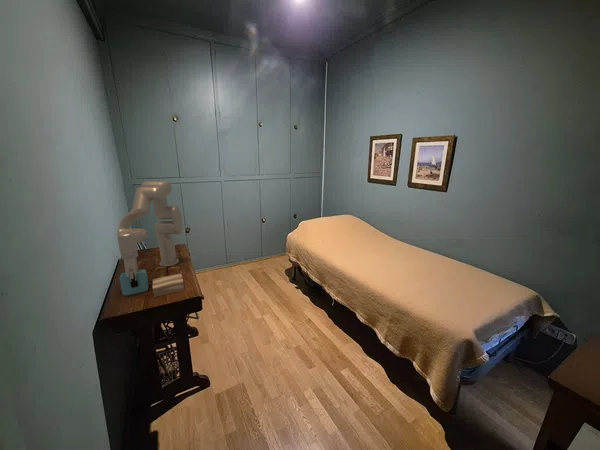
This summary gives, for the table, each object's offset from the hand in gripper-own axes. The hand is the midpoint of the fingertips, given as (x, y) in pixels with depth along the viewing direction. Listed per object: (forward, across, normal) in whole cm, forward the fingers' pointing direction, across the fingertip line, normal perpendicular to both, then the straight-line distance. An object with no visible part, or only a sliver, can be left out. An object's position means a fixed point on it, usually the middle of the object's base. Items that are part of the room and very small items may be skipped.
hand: (135, 284), depth 133 cm
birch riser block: (+4, +5, +16) cm, 17 cm away
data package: (+5, 0, 0) cm, 5 cm away
